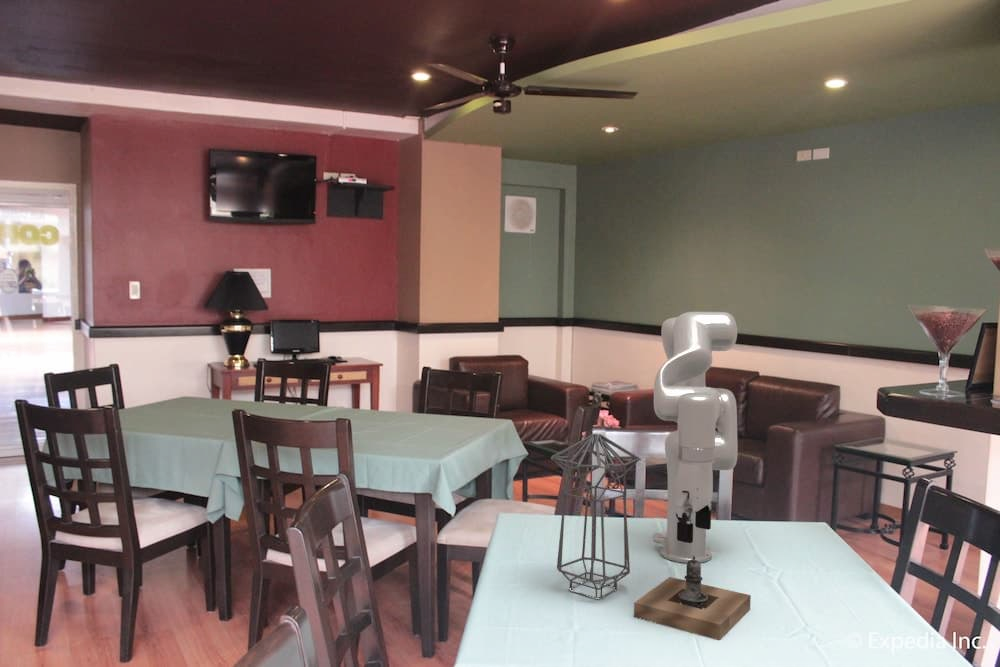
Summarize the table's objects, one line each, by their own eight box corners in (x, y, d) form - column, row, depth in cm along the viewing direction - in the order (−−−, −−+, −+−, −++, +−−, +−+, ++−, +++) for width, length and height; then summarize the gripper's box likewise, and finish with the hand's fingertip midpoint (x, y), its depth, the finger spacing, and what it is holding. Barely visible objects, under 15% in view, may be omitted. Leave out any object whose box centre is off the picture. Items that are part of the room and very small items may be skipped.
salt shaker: (674, 607, 167) (675, 551, 167) (701, 606, 168) (703, 550, 167) (683, 619, 161) (684, 561, 161) (711, 618, 162) (712, 560, 161)
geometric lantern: (544, 590, 176) (546, 433, 175) (586, 573, 188) (588, 426, 187) (602, 609, 166) (604, 442, 165) (643, 590, 177) (646, 434, 176)
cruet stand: (633, 617, 162) (634, 602, 162) (669, 590, 177) (669, 576, 177) (719, 639, 152) (720, 624, 152) (750, 609, 166) (750, 595, 166)
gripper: (694, 443, 172) (692, 520, 173) (661, 459, 158) (659, 543, 159) (728, 447, 167) (726, 526, 169) (697, 465, 153) (695, 551, 155)
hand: (694, 534), depth 164 cm, fingers open, 9 cm apart
